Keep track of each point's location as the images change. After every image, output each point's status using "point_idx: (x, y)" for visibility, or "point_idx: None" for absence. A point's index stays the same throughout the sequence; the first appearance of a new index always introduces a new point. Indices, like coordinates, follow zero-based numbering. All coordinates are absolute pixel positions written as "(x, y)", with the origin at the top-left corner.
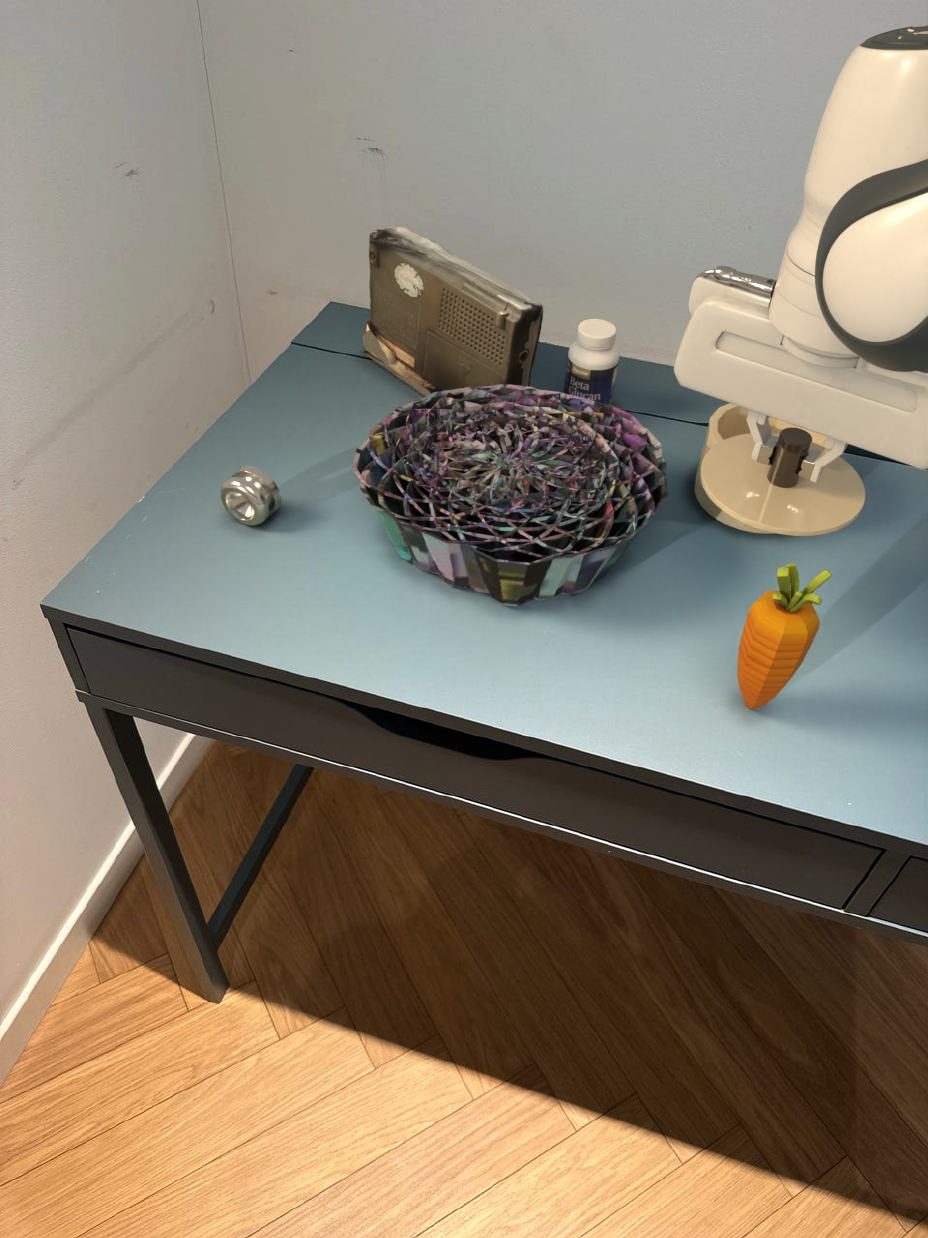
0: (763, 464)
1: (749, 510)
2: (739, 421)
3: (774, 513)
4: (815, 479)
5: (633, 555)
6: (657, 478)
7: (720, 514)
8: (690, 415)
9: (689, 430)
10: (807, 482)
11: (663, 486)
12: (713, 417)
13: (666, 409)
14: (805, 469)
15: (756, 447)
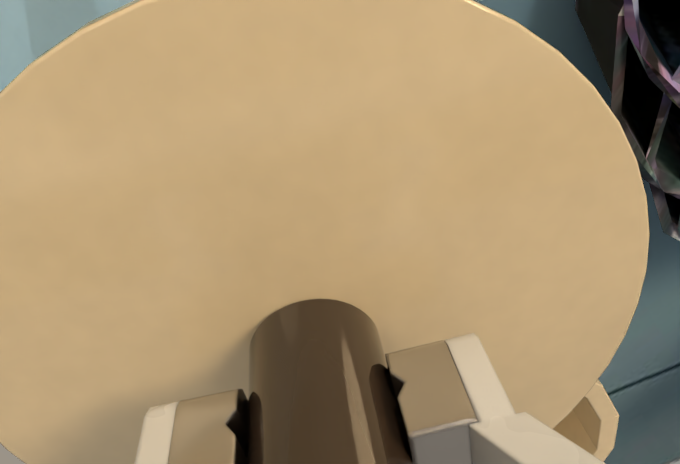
0: None
1: (279, 58)
2: None
3: (172, 138)
4: (150, 420)
5: (549, 40)
6: (662, 168)
7: None
8: (615, 405)
9: (603, 381)
10: None
11: (638, 147)
12: (613, 420)
13: (657, 390)
14: (206, 436)
15: (490, 392)
